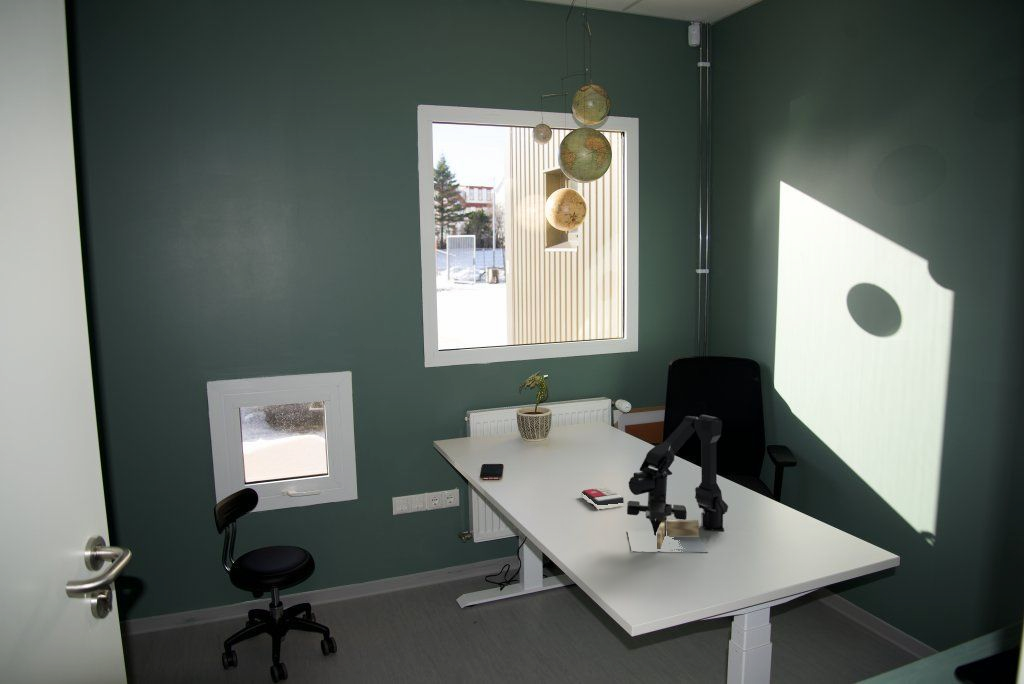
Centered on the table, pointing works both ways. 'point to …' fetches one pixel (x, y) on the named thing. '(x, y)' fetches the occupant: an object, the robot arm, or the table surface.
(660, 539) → the fence panel
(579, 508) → the table surface
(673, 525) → the fence base
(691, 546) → the card
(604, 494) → the red and black book
